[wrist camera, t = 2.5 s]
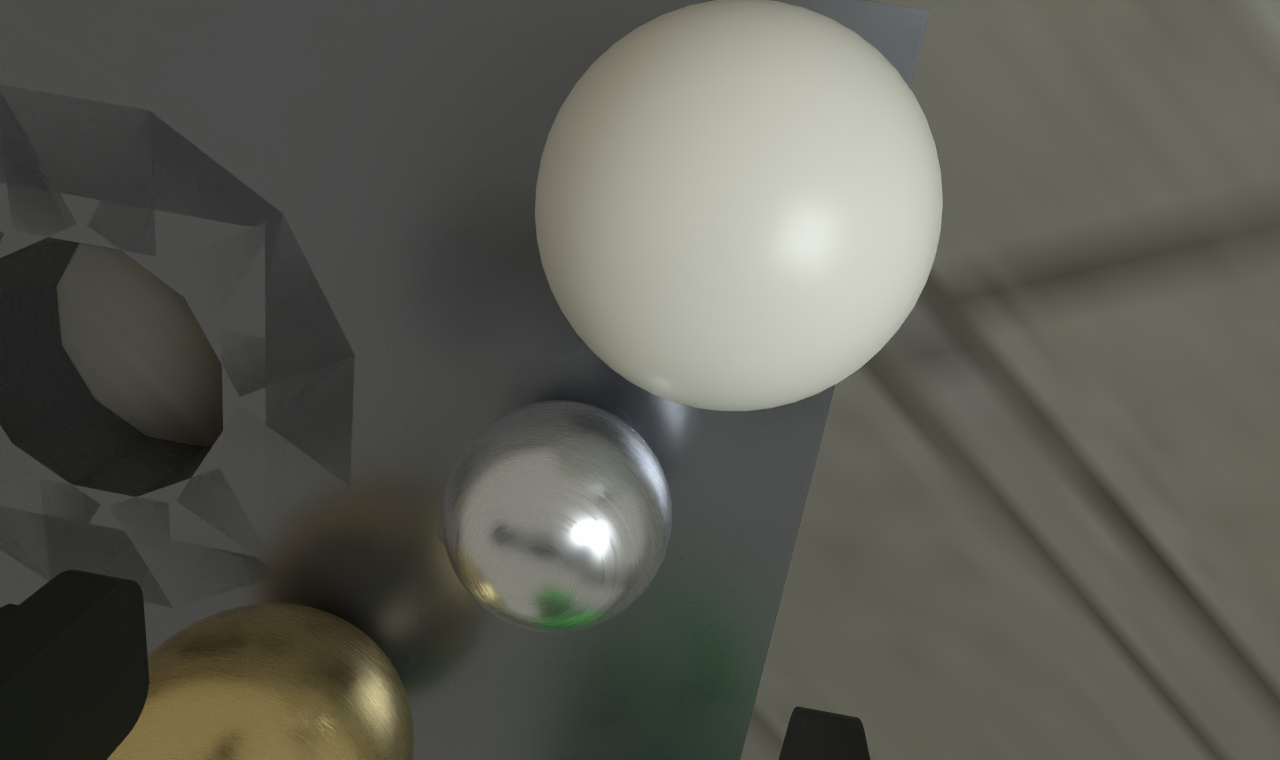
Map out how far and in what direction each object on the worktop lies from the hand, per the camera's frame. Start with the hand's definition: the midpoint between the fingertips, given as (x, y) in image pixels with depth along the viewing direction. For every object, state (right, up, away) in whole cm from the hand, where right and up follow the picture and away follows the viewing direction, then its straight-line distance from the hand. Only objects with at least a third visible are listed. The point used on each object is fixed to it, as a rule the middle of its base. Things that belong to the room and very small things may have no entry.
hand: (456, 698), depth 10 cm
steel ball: (+1, +2, +5) cm, 5 cm away
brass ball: (-5, -3, +6) cm, 9 cm away
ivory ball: (+4, +6, +2) cm, 7 cm away
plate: (-5, +4, +9) cm, 11 cm away
